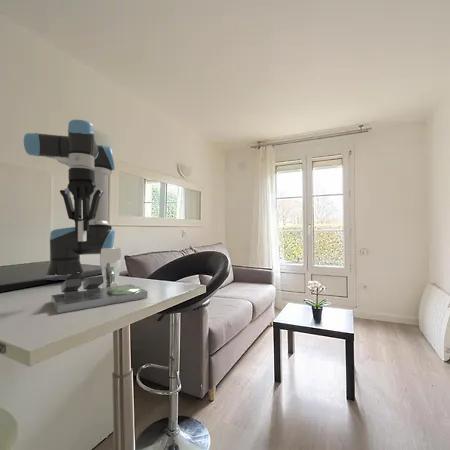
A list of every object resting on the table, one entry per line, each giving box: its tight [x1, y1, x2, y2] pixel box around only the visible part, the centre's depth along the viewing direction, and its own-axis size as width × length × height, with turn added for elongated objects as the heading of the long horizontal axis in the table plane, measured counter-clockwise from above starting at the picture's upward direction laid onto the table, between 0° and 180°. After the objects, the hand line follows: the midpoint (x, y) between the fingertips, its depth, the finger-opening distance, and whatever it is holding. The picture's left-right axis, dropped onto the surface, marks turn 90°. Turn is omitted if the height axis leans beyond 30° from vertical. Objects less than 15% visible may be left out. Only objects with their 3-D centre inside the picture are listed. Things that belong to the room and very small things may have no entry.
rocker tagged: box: [60, 278, 83, 294], centre depth 80 cm, size 9×4×2 cm, turn 38°
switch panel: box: [50, 284, 148, 314], centre depth 82 cm, size 15×24×3 cm, turn 128°
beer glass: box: [99, 247, 122, 288], centre depth 96 cm, size 7×7×15 cm
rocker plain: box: [82, 275, 104, 291], centre depth 83 cm, size 9×4×2 cm, turn 38°
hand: (82, 241), depth 87 cm, fingers closed
